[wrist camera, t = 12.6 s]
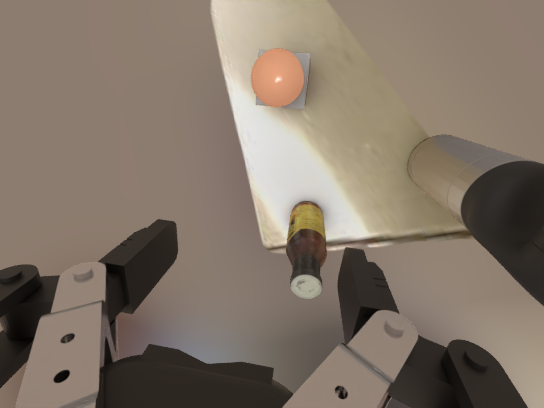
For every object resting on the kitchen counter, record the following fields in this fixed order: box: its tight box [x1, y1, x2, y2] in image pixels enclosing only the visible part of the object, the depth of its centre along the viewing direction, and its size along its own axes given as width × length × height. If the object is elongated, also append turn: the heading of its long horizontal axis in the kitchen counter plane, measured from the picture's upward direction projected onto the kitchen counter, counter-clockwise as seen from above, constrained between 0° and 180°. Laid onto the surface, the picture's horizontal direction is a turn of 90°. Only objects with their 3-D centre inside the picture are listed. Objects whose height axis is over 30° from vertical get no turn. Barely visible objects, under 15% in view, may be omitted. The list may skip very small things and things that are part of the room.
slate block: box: [256, 50, 311, 109], centre depth 34 cm, size 6×6×6 cm
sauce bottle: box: [286, 202, 327, 299], centre depth 42 cm, size 7×6×20 cm
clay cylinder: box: [251, 49, 305, 107], centre depth 28 cm, size 5×5×6 cm
